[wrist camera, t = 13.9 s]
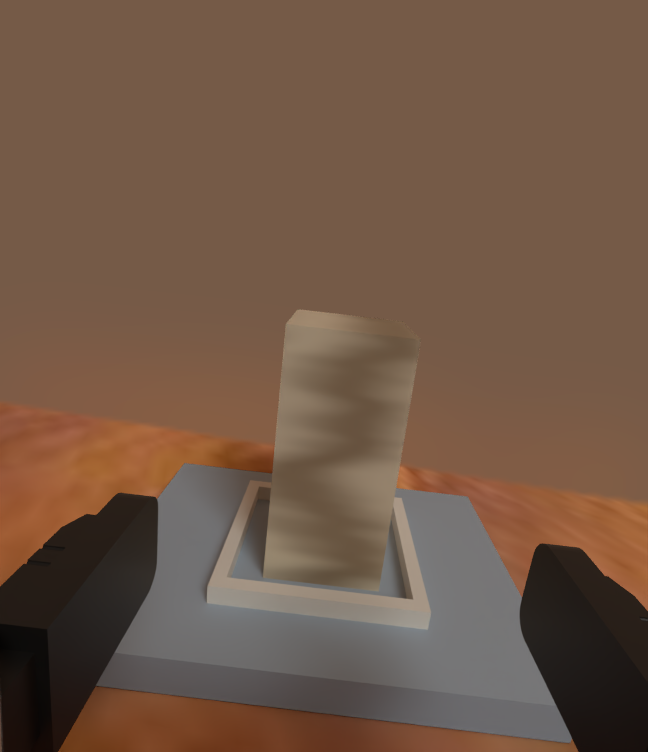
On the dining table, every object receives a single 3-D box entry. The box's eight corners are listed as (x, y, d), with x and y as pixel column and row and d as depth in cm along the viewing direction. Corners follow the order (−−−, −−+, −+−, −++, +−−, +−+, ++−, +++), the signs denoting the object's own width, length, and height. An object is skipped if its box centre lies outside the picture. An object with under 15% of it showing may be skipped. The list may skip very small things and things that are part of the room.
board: (48, 680, 16) (45, 624, 15) (183, 484, 29) (185, 451, 29) (570, 743, 16) (587, 689, 15) (463, 517, 29) (470, 485, 29)
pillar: (262, 577, 20) (286, 323, 17) (278, 514, 24) (298, 309, 22) (378, 591, 20) (420, 339, 17) (370, 525, 24) (402, 321, 22)
